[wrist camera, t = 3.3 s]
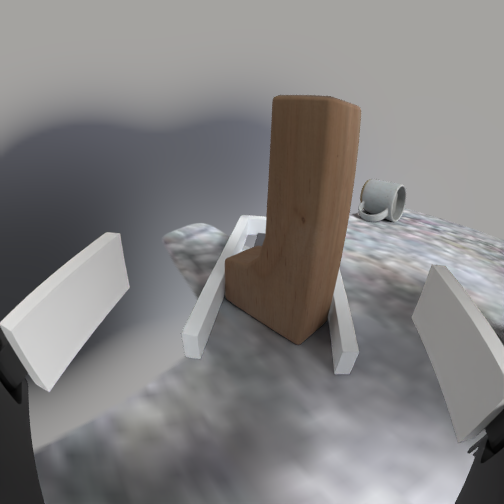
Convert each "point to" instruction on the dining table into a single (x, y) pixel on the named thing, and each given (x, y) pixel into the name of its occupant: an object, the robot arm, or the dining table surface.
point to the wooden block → (300, 217)
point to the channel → (214, 293)
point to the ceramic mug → (382, 200)
